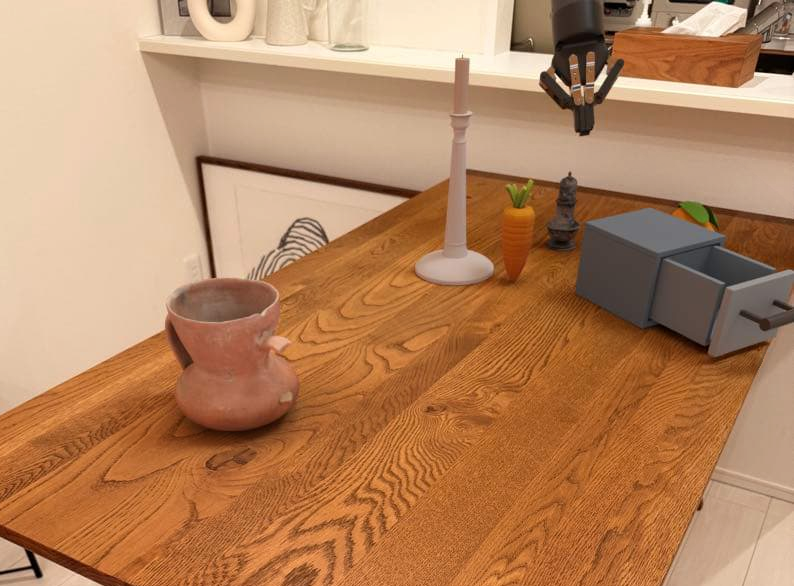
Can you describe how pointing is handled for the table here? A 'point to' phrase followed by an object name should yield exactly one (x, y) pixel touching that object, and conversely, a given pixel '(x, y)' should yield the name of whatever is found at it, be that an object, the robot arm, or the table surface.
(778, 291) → the drawer
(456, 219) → the candlestick
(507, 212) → the carrot
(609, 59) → the robot arm
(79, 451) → the table surface
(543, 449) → the table surface
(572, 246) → the salt shaker
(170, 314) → the ceramic jug
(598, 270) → the cabinet
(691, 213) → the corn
